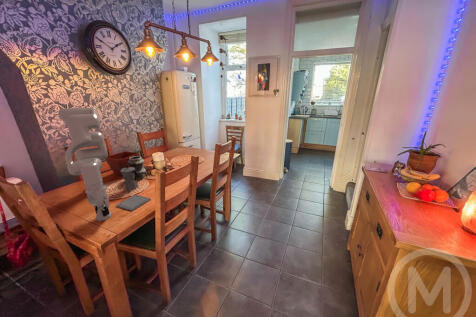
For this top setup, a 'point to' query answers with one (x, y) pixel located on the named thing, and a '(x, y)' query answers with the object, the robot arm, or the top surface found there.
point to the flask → (101, 215)
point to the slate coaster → (133, 202)
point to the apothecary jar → (137, 166)
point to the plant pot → (120, 161)
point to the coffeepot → (129, 178)
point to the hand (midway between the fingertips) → (103, 213)
